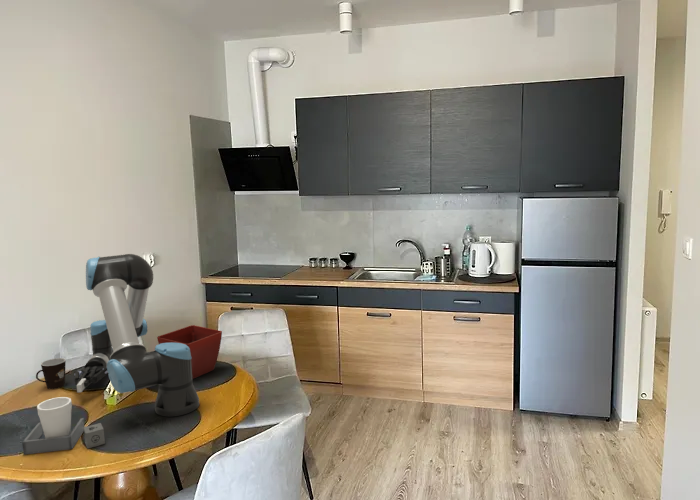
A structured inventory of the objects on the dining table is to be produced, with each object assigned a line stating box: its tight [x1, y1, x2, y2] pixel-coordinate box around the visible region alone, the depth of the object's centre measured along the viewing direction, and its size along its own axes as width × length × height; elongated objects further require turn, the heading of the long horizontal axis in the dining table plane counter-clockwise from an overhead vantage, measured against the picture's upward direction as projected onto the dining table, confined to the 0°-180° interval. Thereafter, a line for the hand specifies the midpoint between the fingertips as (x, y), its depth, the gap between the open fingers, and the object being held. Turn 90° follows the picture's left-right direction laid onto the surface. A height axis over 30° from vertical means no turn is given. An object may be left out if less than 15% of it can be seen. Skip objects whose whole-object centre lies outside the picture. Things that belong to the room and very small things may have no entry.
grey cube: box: [83, 422, 106, 449], centre depth 166 cm, size 5×5×5 cm
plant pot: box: [156, 324, 223, 380], centre depth 222 cm, size 19×19×17 cm
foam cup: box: [36, 396, 73, 439], centre depth 166 cm, size 10×9×13 cm
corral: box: [21, 417, 85, 455], centre depth 167 cm, size 14×13×4 cm
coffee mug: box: [35, 357, 66, 390], centre depth 211 cm, size 12×9×10 cm
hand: (79, 388), depth 192 cm, fingers closed
